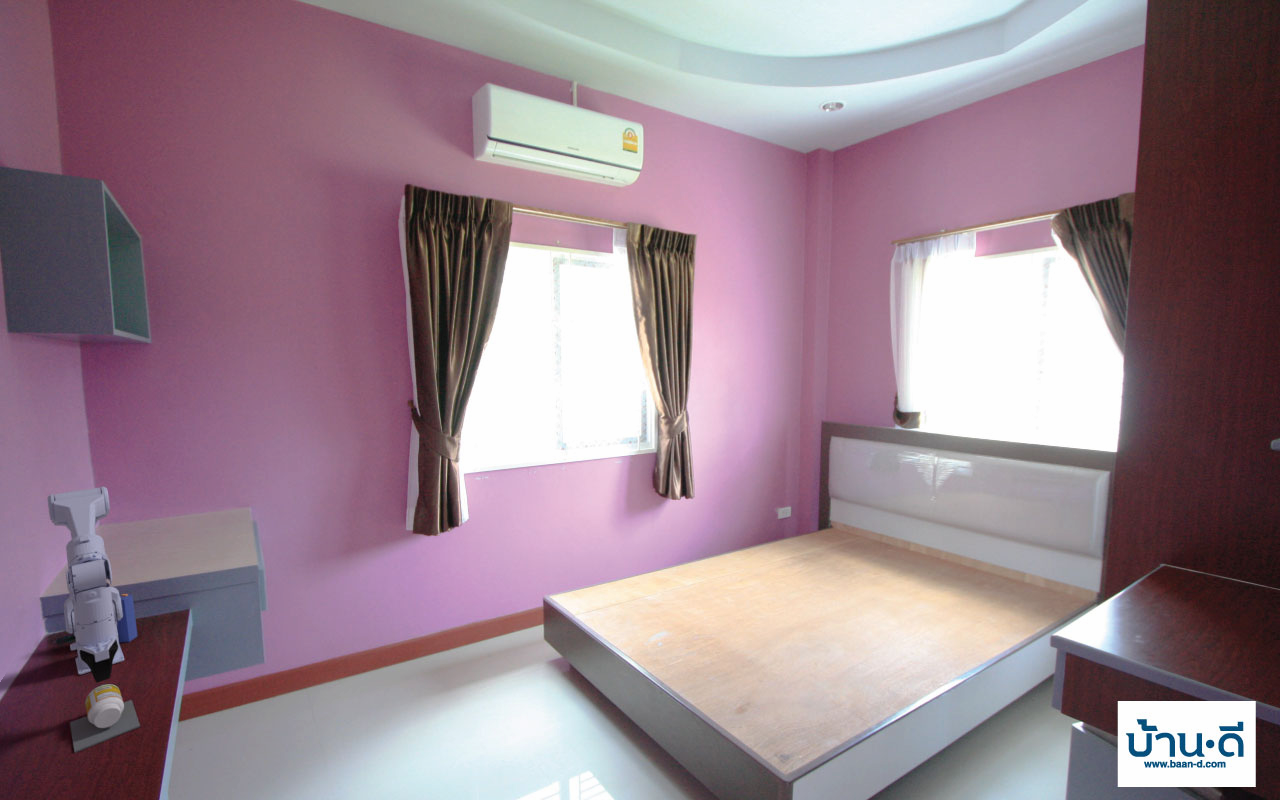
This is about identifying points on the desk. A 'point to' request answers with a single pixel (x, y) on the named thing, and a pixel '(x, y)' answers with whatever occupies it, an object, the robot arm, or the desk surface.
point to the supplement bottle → (104, 705)
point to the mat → (92, 735)
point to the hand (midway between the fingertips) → (103, 679)
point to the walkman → (127, 620)
